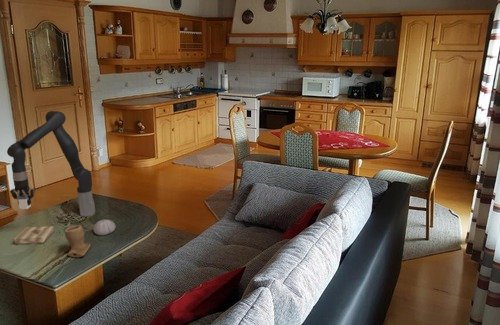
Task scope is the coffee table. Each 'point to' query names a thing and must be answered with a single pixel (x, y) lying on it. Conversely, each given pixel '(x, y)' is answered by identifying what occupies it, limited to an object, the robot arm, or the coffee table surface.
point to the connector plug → (23, 202)
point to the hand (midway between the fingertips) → (24, 204)
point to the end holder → (34, 235)
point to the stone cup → (76, 241)
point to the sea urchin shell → (104, 227)
